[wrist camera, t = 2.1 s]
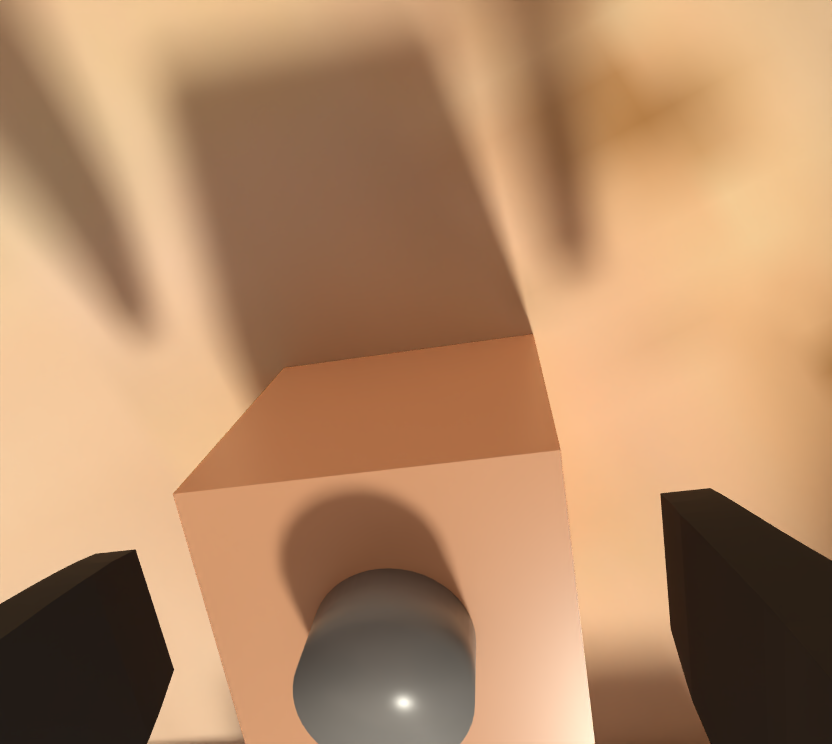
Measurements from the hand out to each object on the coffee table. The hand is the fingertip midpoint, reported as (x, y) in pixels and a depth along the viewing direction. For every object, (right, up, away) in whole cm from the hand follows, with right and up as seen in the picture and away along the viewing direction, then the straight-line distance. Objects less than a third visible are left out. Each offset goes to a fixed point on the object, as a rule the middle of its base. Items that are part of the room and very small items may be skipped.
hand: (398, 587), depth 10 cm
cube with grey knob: (0, +1, +4) cm, 4 cm away
